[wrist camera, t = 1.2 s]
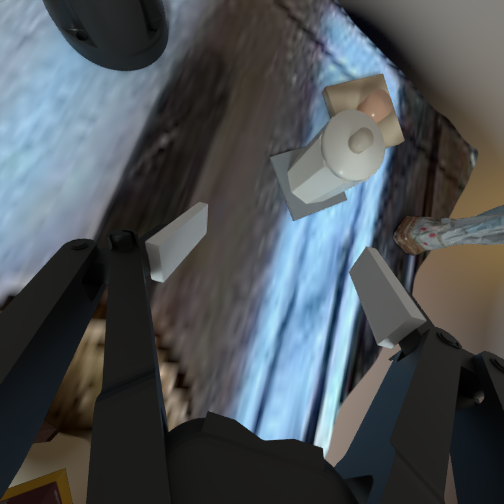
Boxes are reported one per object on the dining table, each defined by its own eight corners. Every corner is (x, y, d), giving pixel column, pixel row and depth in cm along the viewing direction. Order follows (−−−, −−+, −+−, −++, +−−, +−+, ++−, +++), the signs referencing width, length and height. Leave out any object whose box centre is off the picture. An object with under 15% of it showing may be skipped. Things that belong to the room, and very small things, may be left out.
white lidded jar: (279, 183, 32) (319, 141, 20) (304, 146, 34) (355, 84, 21) (317, 212, 34) (374, 189, 22) (339, 175, 35) (406, 133, 23)
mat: (269, 158, 32) (270, 157, 32) (324, 141, 35) (326, 140, 34) (293, 221, 33) (294, 220, 33) (345, 200, 36) (347, 199, 35)
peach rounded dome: (352, 105, 35) (365, 91, 32) (372, 100, 36) (387, 86, 33) (361, 130, 35) (374, 119, 32) (380, 124, 36) (395, 113, 33)
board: (321, 92, 35) (325, 86, 34) (377, 79, 38) (382, 73, 37) (346, 162, 36) (350, 159, 35) (398, 144, 39) (404, 140, 37)
